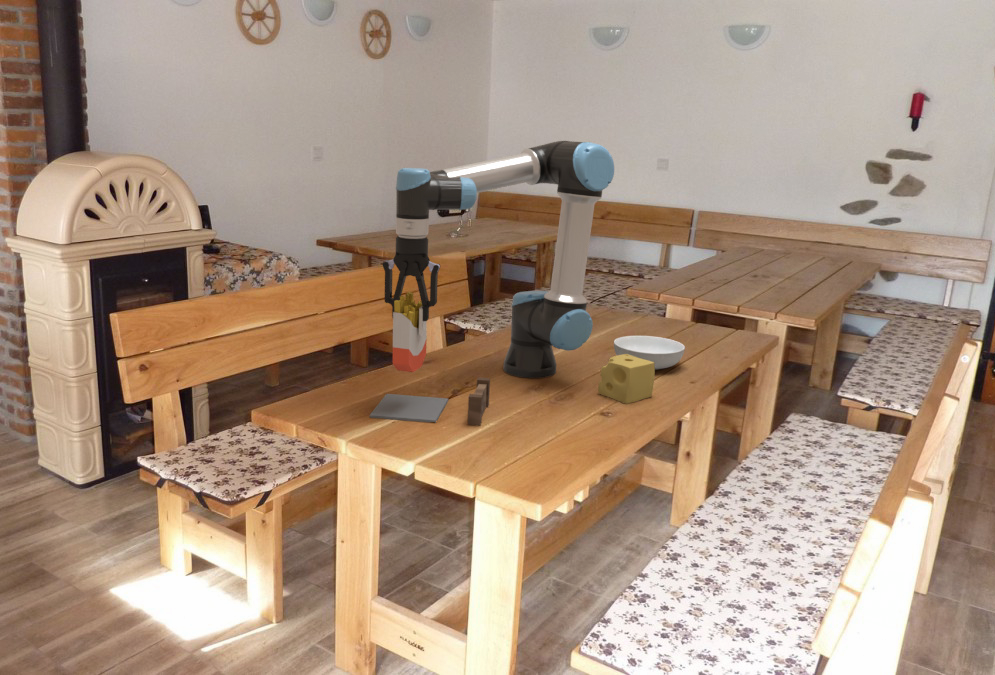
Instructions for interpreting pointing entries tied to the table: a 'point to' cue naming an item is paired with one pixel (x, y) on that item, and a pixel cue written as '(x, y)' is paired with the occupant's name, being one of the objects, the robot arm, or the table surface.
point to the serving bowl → (651, 349)
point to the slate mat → (409, 408)
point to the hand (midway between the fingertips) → (410, 332)
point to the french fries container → (408, 335)
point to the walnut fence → (478, 401)
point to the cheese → (627, 378)
